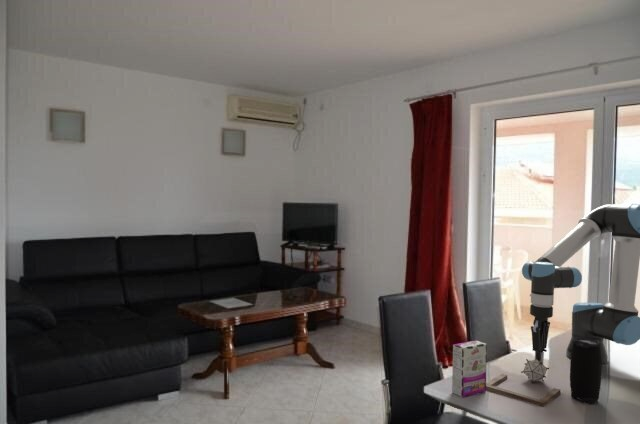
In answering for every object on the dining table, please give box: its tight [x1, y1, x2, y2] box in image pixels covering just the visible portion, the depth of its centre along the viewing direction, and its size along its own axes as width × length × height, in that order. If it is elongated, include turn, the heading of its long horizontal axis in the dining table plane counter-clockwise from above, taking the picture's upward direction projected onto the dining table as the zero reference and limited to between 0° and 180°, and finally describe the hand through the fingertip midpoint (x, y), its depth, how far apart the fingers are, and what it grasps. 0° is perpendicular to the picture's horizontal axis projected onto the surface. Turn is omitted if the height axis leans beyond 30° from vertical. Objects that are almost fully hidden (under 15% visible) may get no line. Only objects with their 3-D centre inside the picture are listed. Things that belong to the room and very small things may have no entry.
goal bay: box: [486, 373, 561, 407], centre depth 163 cm, size 16×20×1 cm
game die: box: [520, 357, 550, 385], centre depth 172 cm, size 9×8×10 cm
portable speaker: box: [569, 337, 603, 405], centre depth 157 cm, size 9×9×20 cm
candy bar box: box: [451, 339, 488, 399], centre depth 160 cm, size 11×5×16 cm, turn 119°
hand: (538, 368), depth 176 cm, fingers closed
